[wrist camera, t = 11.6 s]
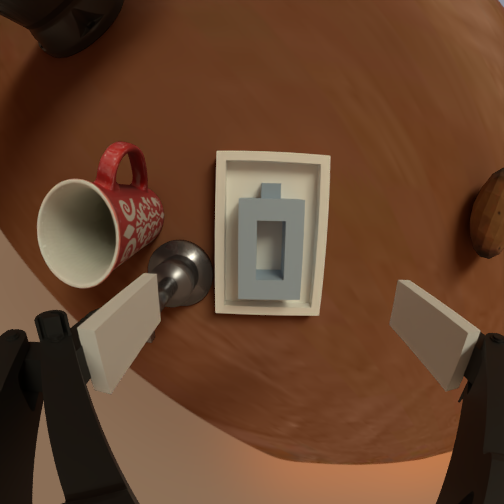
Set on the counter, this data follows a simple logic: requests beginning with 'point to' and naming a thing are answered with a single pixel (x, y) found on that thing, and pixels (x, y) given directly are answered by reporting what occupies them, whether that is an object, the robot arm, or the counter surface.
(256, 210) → the windowed blue block
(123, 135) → the counter surface
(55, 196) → the mug
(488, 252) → the potato
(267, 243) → the tray
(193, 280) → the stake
